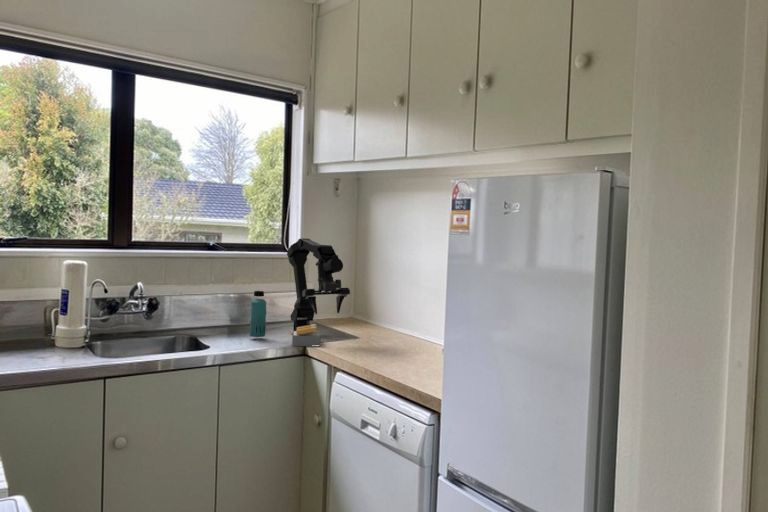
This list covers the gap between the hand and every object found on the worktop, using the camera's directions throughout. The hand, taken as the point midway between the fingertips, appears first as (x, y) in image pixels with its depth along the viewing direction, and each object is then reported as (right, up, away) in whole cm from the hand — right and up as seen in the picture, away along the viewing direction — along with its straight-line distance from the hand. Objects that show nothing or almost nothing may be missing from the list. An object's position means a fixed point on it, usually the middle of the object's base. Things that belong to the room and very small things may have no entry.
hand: (327, 313), depth 232 cm
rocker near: (-8, -6, -3) cm, 11 cm away
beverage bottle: (-29, -11, +4) cm, 32 cm away
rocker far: (-9, -6, +3) cm, 11 cm away
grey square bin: (-9, -12, 0) cm, 15 cm away
